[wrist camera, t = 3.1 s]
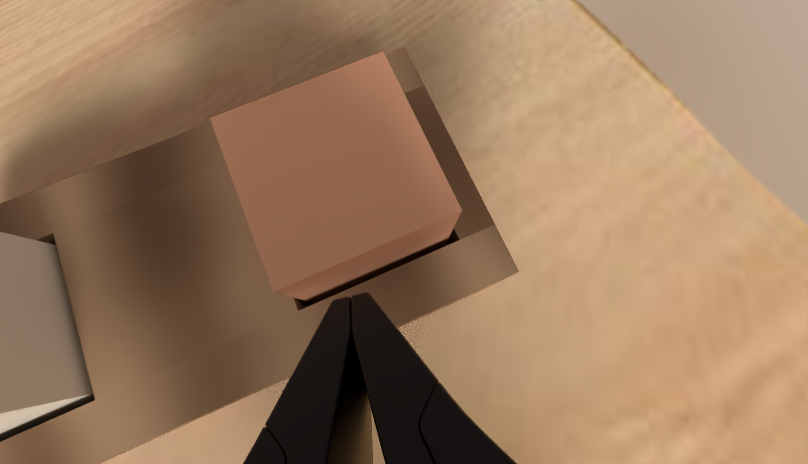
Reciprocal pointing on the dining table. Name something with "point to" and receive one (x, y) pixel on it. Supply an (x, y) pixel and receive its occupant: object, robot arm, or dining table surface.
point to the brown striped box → (206, 286)
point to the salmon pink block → (336, 180)
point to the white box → (37, 338)
